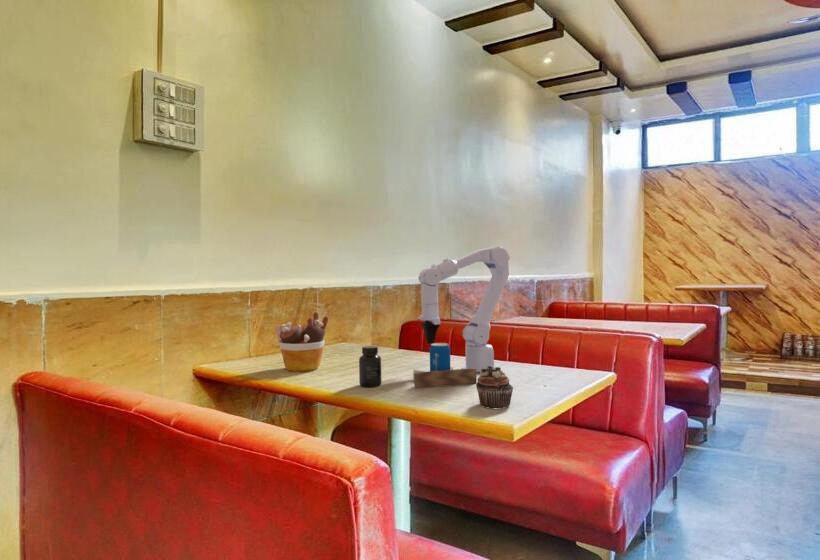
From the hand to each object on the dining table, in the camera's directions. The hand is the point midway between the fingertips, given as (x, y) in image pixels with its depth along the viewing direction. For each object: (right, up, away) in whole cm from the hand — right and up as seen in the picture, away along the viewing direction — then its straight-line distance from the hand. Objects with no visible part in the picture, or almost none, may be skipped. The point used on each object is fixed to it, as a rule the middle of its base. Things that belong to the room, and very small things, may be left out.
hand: (430, 343), depth 185 cm
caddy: (+2, -11, -12) cm, 16 cm away
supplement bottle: (-19, -11, -16) cm, 28 cm away
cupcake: (+15, -12, -41) cm, 45 cm away
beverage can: (+3, -11, -12) cm, 17 cm away
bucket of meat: (-46, -11, +13) cm, 49 cm away
